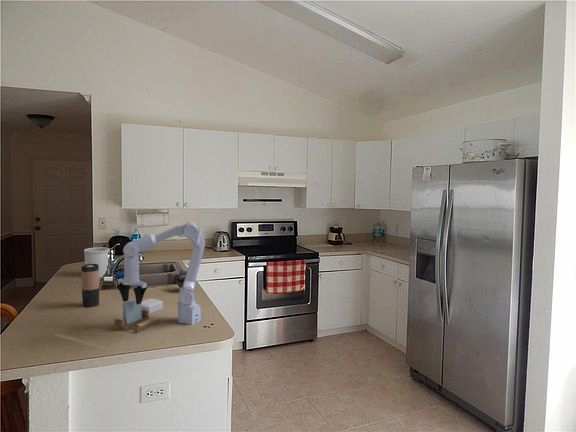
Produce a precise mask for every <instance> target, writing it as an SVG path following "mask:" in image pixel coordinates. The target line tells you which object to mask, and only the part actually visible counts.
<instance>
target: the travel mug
mask: <svg viewBox="0 0 576 432" xmlns="http://www.w3.org/2000/svg"><path fill="white" fill-rule="evenodd" d="M81 299H82V301H81V302H82V307H83V308H93V307H98V306H99V305H100V277H99V265H98V264H86V265H85V264H84V265H81Z"/></svg>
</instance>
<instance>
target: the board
mask: <svg viewBox="0 0 576 432" xmlns="http://www.w3.org/2000/svg"><path fill="white" fill-rule="evenodd" d="M140 319H142V306H141V304H138V305H137V304H136V298H134V299H131V300H128V301H126V302H122V320H125V325H127V324H130V323H132V322H135V321H137V320H140Z"/></svg>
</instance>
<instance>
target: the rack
mask: <svg viewBox="0 0 576 432" xmlns="http://www.w3.org/2000/svg"><path fill="white" fill-rule="evenodd" d="M148 319H150V313H149V311H147V310H142V319H140V320H137V321H135V322H132V323H130V324H127V325H125V320H123V319H121V318H115V319H114V328H113V329H114V330H118V331H122V332H127V333H129V334H133V335H135V334H138V333H141V332H143V331H145V330H146V329H149V328H152V327H155V326H157V325H158V324H161V322H160V319H156V320H153V322H151V323H149V324H146V325H144V326H142V327H139V328H137V329H136V330H134V327H135V325H136V324H138V323H140V322H143V321H145V320H148Z"/></svg>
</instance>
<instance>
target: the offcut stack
mask: <svg viewBox="0 0 576 432" xmlns="http://www.w3.org/2000/svg"><path fill="white" fill-rule="evenodd" d="M153 321H154V319H150V318H149V319H148V320H145V321H143V322H140V323H138V324H136V325H135V327H134V330H136V329H137V328H139V327H142V326H144V325H146V324H149V323H151V322H153Z"/></svg>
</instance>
